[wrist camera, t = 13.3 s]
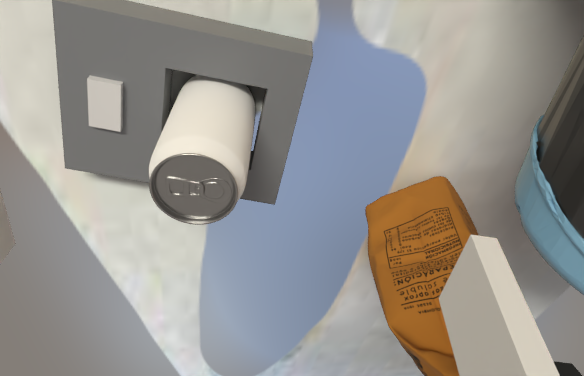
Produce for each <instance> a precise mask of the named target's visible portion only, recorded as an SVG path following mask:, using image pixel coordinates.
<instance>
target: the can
mask: <svg viewBox="0 0 584 376" xmlns="http://www.w3.org/2000/svg"><path fill="white" fill-rule="evenodd" d="M254 121H255V102H254V98H253V96H252V94H251V92H250V90H249V89H248V88H247V86H246V85H245V84H241V83H237V82H232V81H227V80H222V79H217V78H212V77H207V76H203V75H198V74H197V75H195V76H193V77H192V78H190V79H189V80H188V81H187V82H186V83H185V84H184V86H183V87H182V89H181V91H180V93H179V95H178V97H177V99H176V101H175V104H174V106H173V108H172V110H171V113H170V115H169V117H168V119H167V122H166V124H165V126H164V128H163V131H162V133H161V135H160V138H159V140H158V142H157V145H156V147H155V149H154V152H153V154H152V157H151V160H150V164H149V177H150V181H149V189H150V193H151V196H152V198H153V200H154V202H155V203H156V205H157V206H158V207H159V208H160V209H161V210H162V211H163V212H164V213H165V214H167V215H168V216H170V217H172V218H174V219H176V220H178V221H181V222H184V223H189V224H209V223H213V222H216V221H219V220H221V219H223V218H224V217H226V216H227V215H228V214H229V213H230V212H231V211H232V210H233V208H234V207H235V205H236V203H237V201H238V200H239V198H240V197H241V196H242V194H243V192H244V189H245V186H246V181H247V175H248V168H249V161H250V153H251V146H252V138H253V131H254Z"/></svg>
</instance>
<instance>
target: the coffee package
mask: <svg viewBox="0 0 584 376" xmlns="http://www.w3.org/2000/svg"><path fill="white" fill-rule="evenodd" d="M366 217H367V222H368V228H369V229H368V255H369V261H370V266H371V270H372V273H373V277H374V280H375V284H376V288H377V291H378V294H379V298H380V302H381V305H382V308H383V311H384V315H385V318H386V320H387V323H388V326H389V328H390V329H391V331H392V332H393V333H394V335H395V336H396V338H397V339H398V340H399V342H400V344H401V345H402V347H403V348H404V349H405V351H406V352H407V353H408V354H409V355H410V356H411V357H412V359H413V360H414V362H415V364H416V365H417V367H418V368H419V370H420V371H421V372H422V373H423V374H424V376H459V372H458V368H457V364H456V361H455V357H454V353H453V350H452V346H451V342H450V339H449V335H448V331H447V328H446V324H445V320H444V317H443V313H442V309H441V305H440V302H439V297H440V295H441V293H442V291H443V289H444V287H445V285H446V283H447V281H448V279H449V277H450V275H451V273H452V271H453V269H454V267H455V265H456V263H457V261H458V259H459V257H460V255H461V253H462V251H463V249H464V247H465V245H466V243H467V241H468V239H469V237H470V235H478V233H477V230H476V228H475V226H474V224H473V222H472V220H471V218H470V216H469V214H468V212H467V210H466V208H465V206H464V204H463V202H462V200H461V198H460V197H459V195H458V193H457V192H456V190H455V189H454V187H453V186H452V185H451V183H450V182H449V181H448V179H447V178H445V177H441V176H439V177H433V178H431V179H429V180H426V181H423V182H420V183H417V184H414V185H411V186H409V187H407V188H404V189H401V190H399V191H397V192H394V193H391V194H387V195H385V196H382V197H380V198H379V199H377V200H376V201H374V202H373V203H371V204H369V205H367V207H366ZM478 236H479V235H478Z"/></svg>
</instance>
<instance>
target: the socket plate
mask: <svg viewBox="0 0 584 376" xmlns="http://www.w3.org/2000/svg"><path fill="white" fill-rule="evenodd" d="M52 5H53V18H54V31H55V44H56V57H57V70H58V83H59V96H60V109H61V122H62V135H63V148H64V160H65V168H67V169H72V170H78V171H84V172H90V173H95V174H101V175H107V176H113V177H119V178H124V179H130V180H136V181H142V182H147V183H149V181H150V177H149V164H150V160H151V157H152V154H153V152H154V149H155V147H156V145H157V142H158V140H159V138H160V135H161V133H162V131H163V128H164V126H165V124H166V122H167V119H168V117H169V108H170V95H171V82H172V69H173V70H178V71H183V72H188V73H193V74H198V75H203V76H207V77H212V78H217V79H222V80H227V81H232V82H237V83H241V84H246V85H251V86H256V87H261V88H266V91H265V96H264V101H263V106H262V111H261V116H260V121H259V126H258V130H257V136H256V140H255V145H254V150H253V151H251V153H250V161H249V168H248V175H247V181H246V186H245V189H244V192H243V194H242V196H241V197H240V199H245V200H251V201H257V202H263V203H268V204H275V201H276V198H277V194H278V190H279V186H280V182H281V178H282V174H283V171H284V167H285V163H286V159H287V155H288V151H289V147H290V144H291V140H292V136H293V131H294V128H295V124H296V120H297V116H298V112H299V108H300V105H301V101H302V97H303V93H304V89H305V85H306V81H307V78H308V74H309V70H310V65H311V62H312V58H313V51H312V42H311V41H307V40H302V39H298V38H293V37H289V36H284V35H279V34H275V33H270V32H266V31H261V30H257V29H252V28H248V27H243V26H239V25H234V24H230V23H225V22H221V21H216V20H212V19H207V18H203V17H198V16H194V15H189V14H185V13H180V12H176V11H171V10H167V9H162V8H158V7H153V6H149V5H144V4H140V3H135V2H131V1H126V0H52Z"/></svg>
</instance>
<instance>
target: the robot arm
mask: <svg viewBox="0 0 584 376" xmlns="http://www.w3.org/2000/svg"><path fill="white" fill-rule="evenodd" d="M515 204H516V207H517V209H518V212H519V213H520V215H521V223H522V226H523V228H524V231H525V232H526V234H527V236H528V238H529V239H530V241H531V242H532V244H533V245H534V247H535V248H536V250H537V251H538V252H539V253H540V255H541V256H542V257H543V258H544V259H545V261H546V262H547V263H548V264H549V265H550V266H551V267H552V268H553V269H554V270H555V271H556V272H557V273H558V274H559V275H560V276H561V277H562V278H563V279H565V280H566V281H567V282H568V283H569V284H570V285H572V286H573V287H574V288H575V289H577V290H578V291H579V292H580V293H582V294H583V295H584V36H583V38H582V40H581V42H580V44H579V46H578V48H577V50H576V52H575V54H574V56H573V58H572V60H571V62H570V64H569V67H568V69H567V71H566V73H565V75H564V77H563V79H562V81H561V83H560V85H559V87H558V89H557V91H556V93H555V95H554V97H553V99H552V101H551V103H550V105H549V107H548V109H547V111H546V113H545V115H543V116H541V117H540V119H539V120H538V121H537V123H536V125H535V127H534V130H533V132H532V135H531V140H530V147H529V150H528V152H527V155H526V157H525V160H524V162H523V165H522V167H521V169H520V172H519V174H518V177H517V180H516V185H515ZM15 244H16V243H15V240H14V236H13V233H12V229H11V226H10V222H9V219H8V215H7V211H6V208H5V204H4V201H3V197H2V193H1V190H0V264H1V263H2V261H3V260H4V259H5V257H6V256H7V255H8V253H9V252H10V250H11V249H12V248H13V246H14V245H15ZM439 302H440V305H441V309H442V313H443V317H444V320H445V324H446V328H447V331H448V335H449V339H450V342H451V346H452V350H453V353H454V357H455V361H456V364H457V368H458V372H459V376H582V375H581V374H580V372H578V370H577V369H576V368H575V367H574V366H573V364H570V363H562V362H554V361H553V360H552V357H551V355H550V353H549V351H548V349H547V347H546V345H545V342H544V340H543V338H542V336H541V333H540V332H539V329H538V327H537V325H536V323H535V320H534V318H533V316H532V314H531V312H530V309H529V307H528V305H527V303H526V301H525V299H524V296H523V294H522V292H521V290H520V288H519V285H518V283H517V281H516V279H515V277H514V275H513V272H512V270H511V268H510V266H509V264H508V261H507V259H506V257H505V255H504V253H503V251H502V248H501V246H500V244H499V242H498V240H497V238H492V237H485V236H478V235H470V237H469V239H468V241H467V243H466V245H465V247H464V249H463V251H462V253H461V255H460V257H459V259H458V261H457V263H456V265H455V267H454V269H453V271H452V273H451V275H450V277H449V279H448V281H447V283H446V285H445V287H444V289H443V291H442V293H441V295H440V297H439Z"/></svg>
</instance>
